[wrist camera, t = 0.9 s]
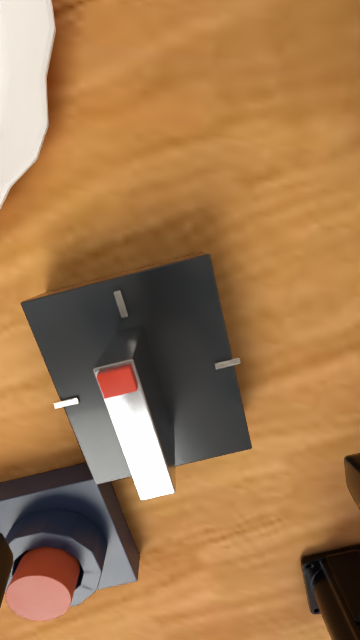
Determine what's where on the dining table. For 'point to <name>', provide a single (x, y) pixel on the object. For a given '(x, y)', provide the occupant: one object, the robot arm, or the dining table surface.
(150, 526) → the dining table surface
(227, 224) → the dining table surface
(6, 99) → the plate
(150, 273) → the tap console
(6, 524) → the button housing
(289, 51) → the dining table surface
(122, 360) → the tap handle
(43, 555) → the push button
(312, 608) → the robot arm
